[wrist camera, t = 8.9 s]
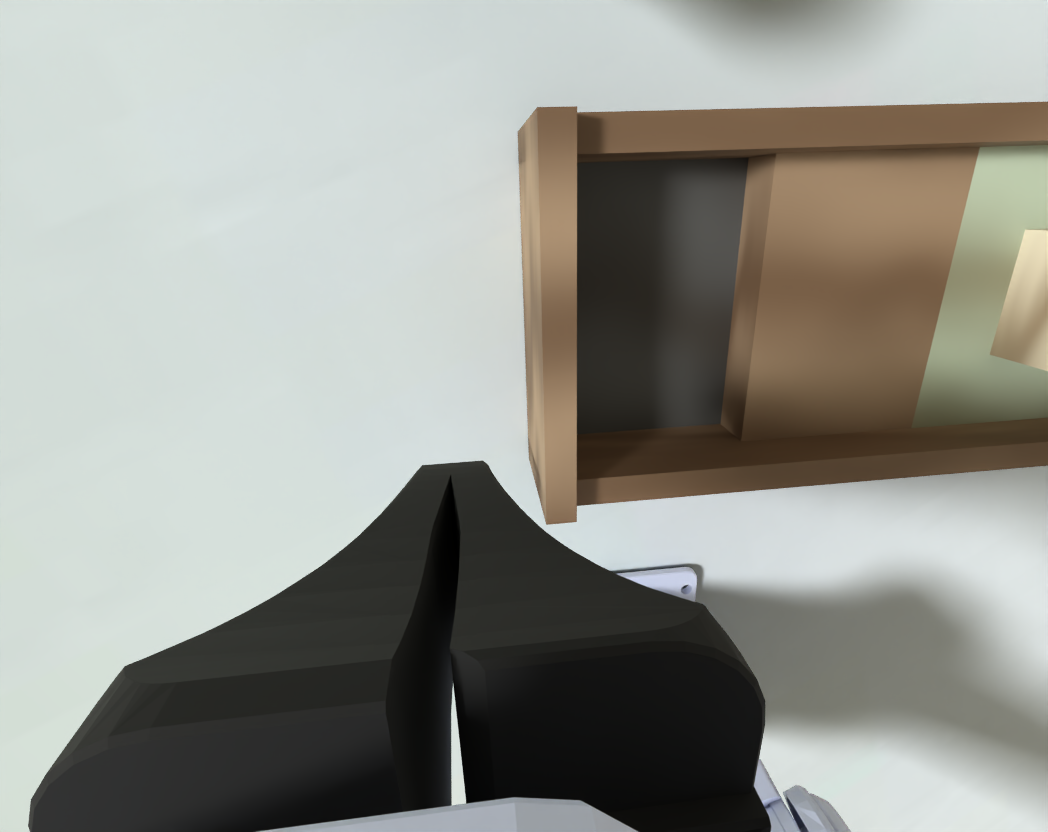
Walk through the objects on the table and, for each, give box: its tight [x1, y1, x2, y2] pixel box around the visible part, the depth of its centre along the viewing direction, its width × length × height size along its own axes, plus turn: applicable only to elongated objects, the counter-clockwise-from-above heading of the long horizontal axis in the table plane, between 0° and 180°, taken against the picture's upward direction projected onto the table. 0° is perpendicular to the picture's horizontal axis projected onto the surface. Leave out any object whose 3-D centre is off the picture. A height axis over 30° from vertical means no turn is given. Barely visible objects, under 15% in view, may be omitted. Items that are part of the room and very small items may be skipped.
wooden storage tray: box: [518, 102, 1048, 525], centre depth 19 cm, size 12×23×5 cm, turn 92°
